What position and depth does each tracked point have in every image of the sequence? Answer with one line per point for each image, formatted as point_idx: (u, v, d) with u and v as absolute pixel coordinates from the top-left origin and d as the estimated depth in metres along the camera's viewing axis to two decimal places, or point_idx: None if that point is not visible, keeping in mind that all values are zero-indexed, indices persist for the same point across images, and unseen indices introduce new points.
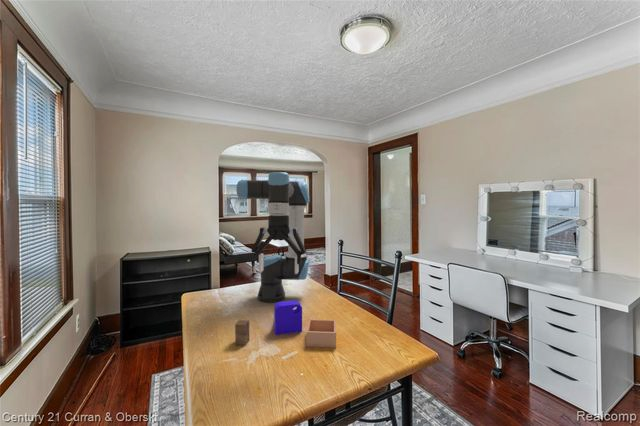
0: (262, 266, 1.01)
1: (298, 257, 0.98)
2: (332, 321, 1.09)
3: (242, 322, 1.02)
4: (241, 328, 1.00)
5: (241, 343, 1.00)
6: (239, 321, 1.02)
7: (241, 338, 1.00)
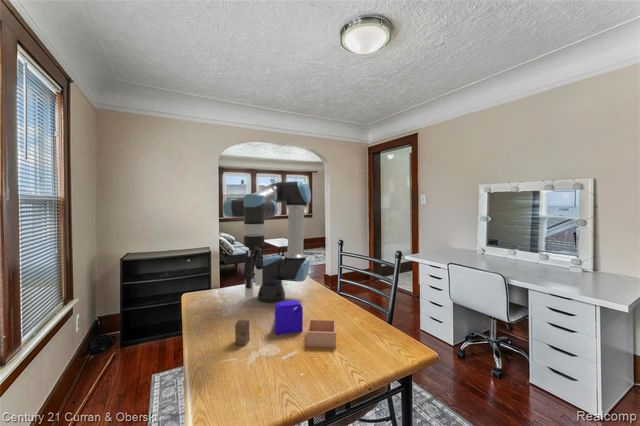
0: (259, 281, 1.09)
1: None
2: (332, 321, 1.09)
3: (242, 322, 1.02)
4: (241, 328, 1.00)
5: (241, 343, 1.00)
6: (239, 321, 1.02)
7: (241, 338, 1.00)
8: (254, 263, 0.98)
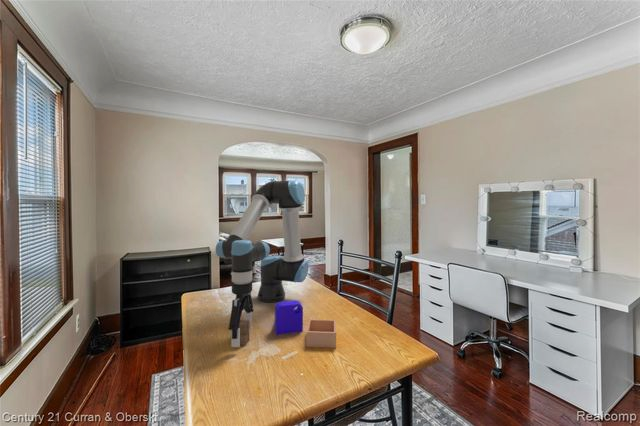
0: None
1: None
2: (332, 321, 1.09)
3: (242, 322, 1.02)
4: (241, 328, 1.00)
5: (241, 343, 1.00)
6: None
7: (241, 338, 1.00)
8: (241, 311, 0.98)
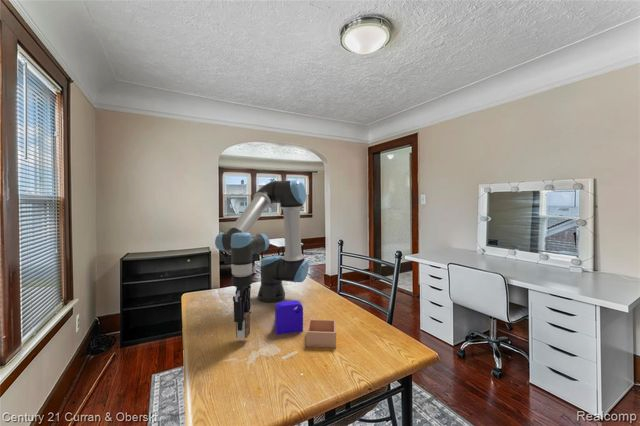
0: None
1: None
2: (332, 321, 1.09)
3: None
4: None
5: None
6: None
7: None
8: (243, 304, 1.00)
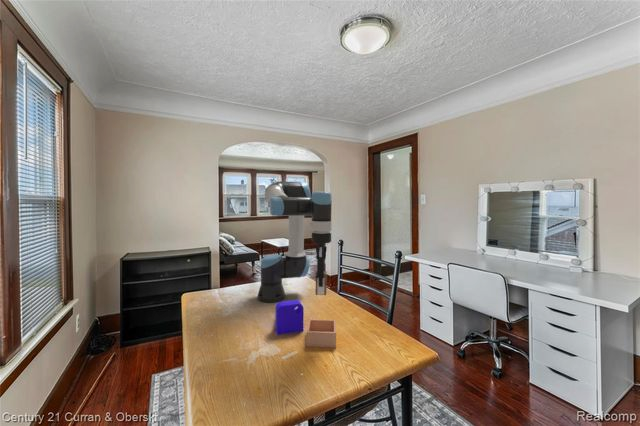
0: None
1: (318, 279, 1.01)
2: (332, 321, 1.09)
3: None
4: None
5: None
6: None
7: None
8: None
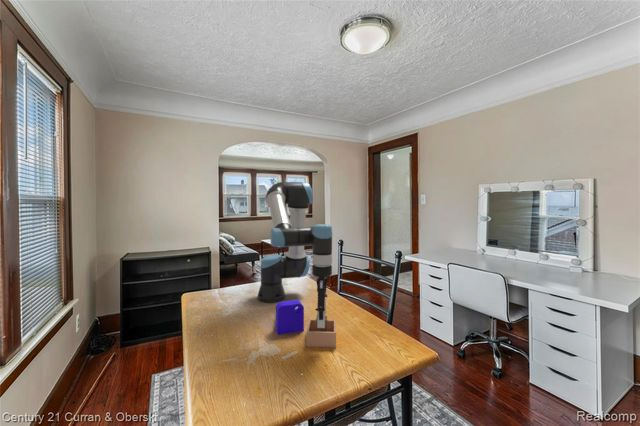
0: None
1: (319, 312, 0.97)
2: (332, 321, 1.09)
3: None
4: None
5: None
6: None
7: None
8: None
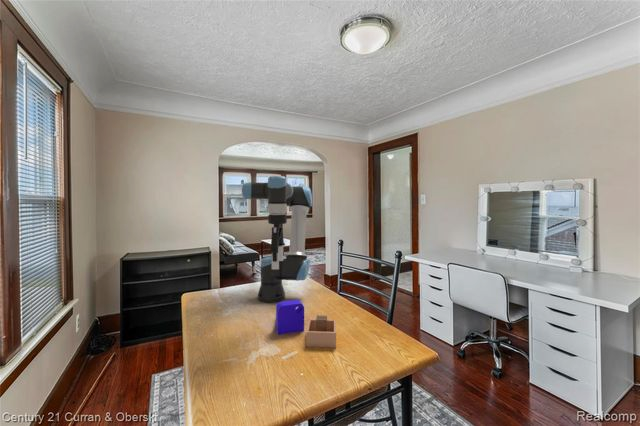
0: (280, 257, 1.19)
1: (273, 254, 1.05)
2: (332, 321, 1.09)
3: (321, 318, 1.04)
4: (322, 323, 1.02)
5: None
6: (318, 317, 1.04)
7: None
8: (279, 239, 1.08)
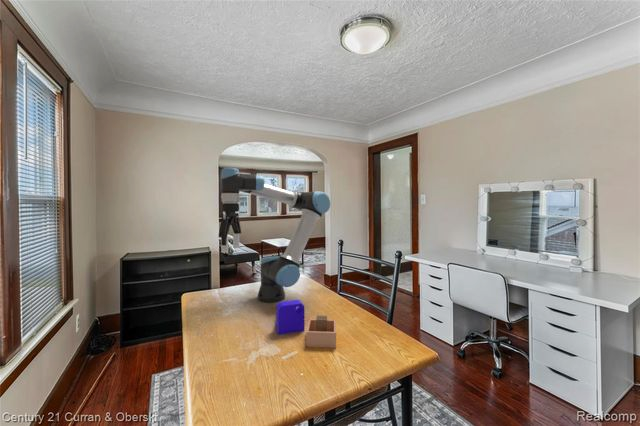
0: (236, 243, 1.28)
1: None
2: (332, 321, 1.09)
3: (321, 318, 1.04)
4: (322, 323, 1.02)
5: None
6: (318, 317, 1.04)
7: None
8: (229, 225, 1.17)
